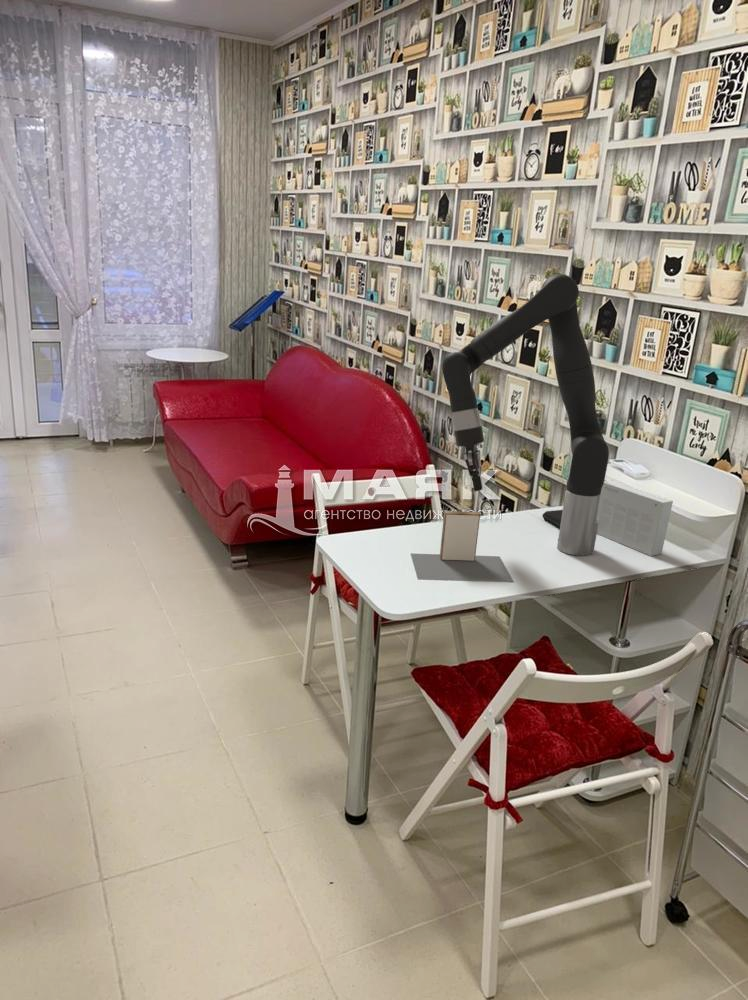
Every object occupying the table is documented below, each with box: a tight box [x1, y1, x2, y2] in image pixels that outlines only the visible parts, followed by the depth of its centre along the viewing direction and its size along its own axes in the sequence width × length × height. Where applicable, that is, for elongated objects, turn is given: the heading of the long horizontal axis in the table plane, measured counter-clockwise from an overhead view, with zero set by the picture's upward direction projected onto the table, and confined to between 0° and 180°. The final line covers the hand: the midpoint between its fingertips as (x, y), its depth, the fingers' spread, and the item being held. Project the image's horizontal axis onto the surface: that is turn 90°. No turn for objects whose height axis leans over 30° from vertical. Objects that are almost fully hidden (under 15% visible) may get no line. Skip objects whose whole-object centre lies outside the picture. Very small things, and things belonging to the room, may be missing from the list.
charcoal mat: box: [410, 552, 515, 583], centre depth 192 cm, size 24×16×1 cm, turn 94°
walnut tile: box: [439, 510, 481, 561], centre depth 195 cm, size 9×2×13 cm, turn 94°
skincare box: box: [596, 480, 674, 557], centre depth 216 cm, size 21×6×16 cm, turn 35°
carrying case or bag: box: [542, 509, 563, 530], centre depth 229 cm, size 11×3×15 cm
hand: (478, 490), depth 203 cm, fingers closed
